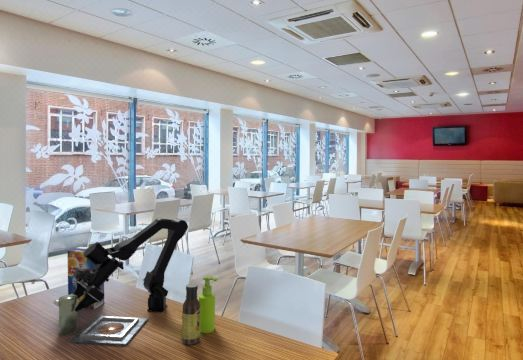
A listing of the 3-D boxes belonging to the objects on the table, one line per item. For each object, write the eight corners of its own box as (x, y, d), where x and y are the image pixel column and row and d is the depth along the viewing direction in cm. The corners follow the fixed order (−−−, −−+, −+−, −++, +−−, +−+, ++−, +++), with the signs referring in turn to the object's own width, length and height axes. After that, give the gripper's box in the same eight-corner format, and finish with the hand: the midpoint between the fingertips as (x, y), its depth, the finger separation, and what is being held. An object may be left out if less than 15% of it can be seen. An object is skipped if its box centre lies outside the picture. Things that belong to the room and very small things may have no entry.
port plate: (147, 320, 147) (147, 315, 147) (125, 346, 127) (125, 341, 127) (98, 317, 148) (98, 313, 148) (69, 342, 128) (68, 337, 128)
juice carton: (104, 302, 162) (104, 248, 161) (93, 309, 155) (93, 252, 153) (79, 300, 165) (79, 246, 163) (68, 307, 157) (67, 250, 156)
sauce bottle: (200, 344, 129) (201, 288, 128) (182, 346, 128) (182, 289, 126) (199, 335, 135) (200, 281, 134) (181, 337, 134) (182, 282, 132)
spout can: (75, 325, 141) (75, 293, 140) (79, 331, 136) (79, 298, 135) (52, 331, 136) (51, 297, 135) (55, 338, 131) (55, 303, 130)
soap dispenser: (214, 334, 136) (215, 280, 135) (196, 332, 138) (196, 279, 136) (219, 327, 142) (220, 275, 141) (202, 325, 144) (202, 274, 142)
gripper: (81, 253, 146) (49, 287, 140) (95, 265, 132) (60, 303, 126) (102, 270, 152) (72, 302, 145) (117, 283, 137) (85, 320, 131)
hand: (72, 306), depth 137 cm, fingers open, 9 cm apart
